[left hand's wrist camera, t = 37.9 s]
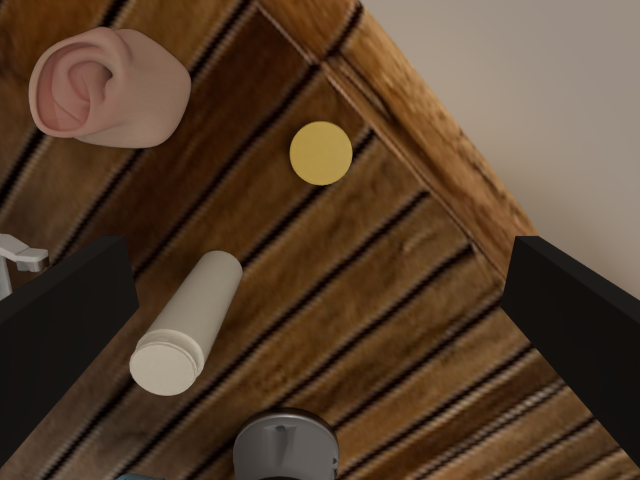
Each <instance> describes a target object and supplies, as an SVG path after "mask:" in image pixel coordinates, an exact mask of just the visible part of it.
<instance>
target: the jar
mask: <svg viewBox="0 0 640 480" xmlns="http://www.w3.org/2000/svg"><path fill="white" fill-rule="evenodd" d="M241 279H242V268H241V265H240V263H239V262H238V260H237V259H236V258H235V257H234V256H232V255H231V254H229V253H227V252H223V251H211V252H208V253H206V254H204V255H203V256H202V257H201V258H200V259H199V261H198V262H197V263H196V265H195V266H194V267H193V269H192V270H191V271H190V273H189V274H188V276H187V277H186V278H185V280H184V281H183V282H182V284H181V285H180V286H179V288H178V289H177V290H176V292H175V293H174V294H173V296H172V297H171V298H170V300H169V301H168V302H167V304H166V305H165V307H164V308H163V309H162V311H161V312H160V313H159V315H158V316H157V317H156V319H155V320H154V321H153V323H152V324H151V325H150V327H149V328H148V329H147V331H146V332H145V333H144V335H143V336H142V338H141V339H140V340H139V342H138V344H137V346H136V350H135V352H134V353H133V355H132V356H131V360H130V363H129V364H130V372H131V374H132V376H133V378H134V380H135V381H136V382H137V383H138V384H139V385H140V386H141V387H142V388H144V389H145V390H147V391H149V392H151V393H154V394H158V395H164V396H170V395H176V394H179V393H182V392H184V391H185V390H186V389H188V388H189V387H190V386H191V385H192V384H193V382H194V381H195V379H196V377H198V375H199V374H200V373H201V372H202V370H203V367H204V365H205V363H206V360H207V358H208V356H209V353H210V351H211V349H212V346H213V344H214V342H215V340H216V337H217V335H218V333H219V330H220V328H221V326H222V323H223V321H224V319H225V316H226V314H227V312H228V309H229V307H230V305H231V302H232V300H233V298H234V295H235V293H236V291H237V288H238V286H239V284H240V281H241Z"/></svg>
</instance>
